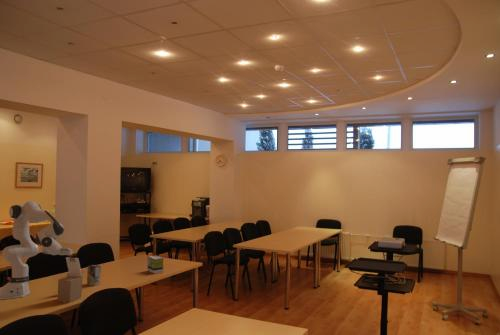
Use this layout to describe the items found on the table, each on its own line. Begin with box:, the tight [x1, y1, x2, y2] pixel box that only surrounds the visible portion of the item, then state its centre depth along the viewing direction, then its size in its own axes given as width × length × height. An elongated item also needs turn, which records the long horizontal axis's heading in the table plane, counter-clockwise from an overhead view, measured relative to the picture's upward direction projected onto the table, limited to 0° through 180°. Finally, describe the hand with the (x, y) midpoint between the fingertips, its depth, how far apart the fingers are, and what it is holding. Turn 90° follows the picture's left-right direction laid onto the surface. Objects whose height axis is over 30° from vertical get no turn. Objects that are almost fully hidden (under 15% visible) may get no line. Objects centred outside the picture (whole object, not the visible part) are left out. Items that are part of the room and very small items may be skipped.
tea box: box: [146, 255, 164, 275], centre depth 382 cm, size 15×10×15 cm
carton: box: [57, 276, 83, 304], centre depth 292 cm, size 12×11×16 cm
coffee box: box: [86, 264, 101, 287], centre depth 334 cm, size 9×6×16 cm
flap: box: [65, 256, 83, 278], centre depth 296 cm, size 16×11×1 cm
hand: (61, 254), depth 292 cm, fingers closed
